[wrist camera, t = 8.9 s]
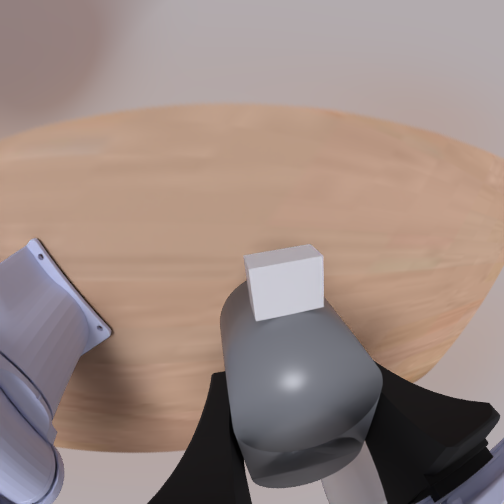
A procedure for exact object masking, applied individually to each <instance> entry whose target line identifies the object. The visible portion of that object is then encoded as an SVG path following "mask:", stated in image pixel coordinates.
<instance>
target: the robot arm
mask: <svg viewBox="0 0 504 504" xmlns="http://www.w3.org/2000/svg"><path fill="white" fill-rule="evenodd" d="M41 254H42V255H43V258H42V257H41ZM99 326H101V327H102V328H100V327H99ZM110 335H111V329H110V328H109V327H108V326H107V325H106V323H105V322H104V321H103V320H102V319H101V318H100V317H99V316H98V315H97V314H96V313H95V312H94V310H93V309H92V308H91V307H90V306H89V305H88V304H87V302H86V301H85V300H84V299H83V298H82V297H81V295H80V294H79V293H78V292H77V291H76V289H75V288H74V287H73V286H72V285H71V283H70V282H69V281H68V280H67V278H66V277H65V276H64V275H63V273H62V272H61V271H60V269H59V268H58V267H57V265H56V264H55V263H54V261H53V260H52V259H51V257H50V256H49V255H48V253H47V252H46V250H45V249H44V247H43V246H42V245H41V243H40V242H39V240H38V239H36V238H33V239H32V240H30V241H29V243H28V244H27V245H26V246H25V247H23V248H22V249H20V250H19V251H17V252H15V253H14V254H13V255H11V256H10V257H8V258H7V259H5V260H4V261H2V262H1V263H0V504H52V503H53V502H54V501H55V499H56V498H57V497H58V495H59V493H60V491H61V488H62V485H63V481H64V464H63V461H62V458H61V455H60V453H59V452H58V451H57V449H56V447H55V446H54V445H53V443H54V440H55V437H56V434H57V431H56V430H55V428H54V427H53V425H52V420H53V417H54V415H55V412H56V410H57V407H58V405H59V403H60V400H61V398H62V395H63V393H64V391H65V388H66V386H67V384H68V382H69V379H70V377H71V375H72V373H73V371H74V369H75V366H76V364H77V362H78V360H79V358H80V356H82V355H83V354H85V353H86V352H88V351H89V350H91V349H92V348H93V347H95V346H96V345H98V344H99V343H101V342H102V341H104V340H105V339H107V338H108V337H109V336H110ZM374 362H375V361H374ZM375 364H376V365H377V366H378V368H379V369H380V371H381V373H382V378H383V385H382V390H381V393H380V397H379V400H378V403H377V406H376V410H375V413H374V416H373V419H372V422H371V425H370V427H369V430H368V433H367V436H366V438H365V442H366V445H367V447H368V449H369V452H370V454H371V456H372V459H373V462H374V464H375V467H376V470H377V472H378V475H379V478H380V481H381V484H382V487H383V490H384V494H385V497H386V501H387V504H440V503H441V504H502V503H503V502H504V438H503V439H502V440H501V441H500V442H499V443H498V444H497V445H496V446H495V447H494V448H492V449H491V450H490V451H489V450H488V449H487V447H486V446H487V445H488V442H487V440H486V439H485V438H486V437H487V435H488V434H489V433H490V432H491V430H492V429H493V428H494V427H495V425H496V424H497V423H498V421H499V419H500V415H499V413H498V412H497V411H496V410H495V409H494V408H493V407H492V406H491V405H490V403H485V402H476V401H468V400H462V399H457V398H453V397H449V396H445V395H442V394H439V393H435V392H433V391H430V390H427V389H424V388H422V387H420V386H418V385H415V384H413V383H411V382H409V381H407V380H405V379H403V378H401V377H399V376H398V375H396V374H394V373H392V372H391V371H389V370H387V369H386V368H384V367H383V366H381V365H379V364H378V363H376V362H375ZM147 504H252V502H251V497H250V493H249V488H248V483H247V479H246V474H245V467H244V458H243V455H242V452H241V450H240V447H239V444H238V441H237V438H236V436H235V433H234V429H233V424H232V417H231V410H230V403H229V396H228V388H227V380H226V372H225V371H224V372H218V373H213V374H212V376H211V383H210V388H209V392H208V396H207V400H206V403H205V406H204V409H203V412H202V415H201V418H200V421H199V423H198V426H197V428H196V431H195V433H194V435H193V437H192V440H191V442H190V444H189V446H188V448H187V450H186V451H185V453H184V455H183V457H182V458H181V460H180V462H179V464H178V465H177V467H176V468H175V470H174V471H173V473H172V474H171V476H170V477H169V478H168V480H167V481H166V482H165V484H164V485H163V486H162V488H161V489H160V490H159V491H158V493H157V494H156V495H155V496H154V497H153V498H152V499H151V500H150V501H149V502H148V503H147Z"/></svg>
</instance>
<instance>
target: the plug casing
mask: <svg viewBox="0 0 504 504" xmlns="http://www.w3.org/2000/svg"><path fill="white" fill-rule="evenodd" d="M244 263H245V270H246V277H247V281H245V282H244V283H242V284H241V285H239V286H238V287H237V288H236V289H235V290H234V291H233V292H232V293H231V294H230V296H229V297H228V298H227V300H226V302H225V304H224V306H223V308H222V311H221V316H220V329H221V338H222V347H223V356H224V364H225V372H226V380H227V388H228V396H229V403H230V410H231V417H232V424H233V429H234V433H235V436H236V438H237V441H238V444H239V447H240V450H241V452H242V455H243V458H244V460H245V463H246V466H247V468H248V471H249V473H250V476H251V478H252V480H253V482H255V483H256V484H258V485H260V486H263V487H268V488H288V487H295V486H300V485H304V484H308V483H312V482H315V481H318V480H320V479H323V478H325V477H328V476H330V475H332V474H334V473H336V472H337V471H339V470H341V469H342V468H344V467H345V466H347V465H348V464H349V463H351V462H352V461H353V460H354V459H355V458H356V457H357V456H358V454H359V453H360V451H361V449H362V446H363V444H364V441H365V438H366V436H367V433H368V430H369V427H370V425H371V422H372V419H373V416H374V413H375V410H376V406H377V403H378V400H379V397H380V393H381V390H382V385H383V378H382V373H381V371H380V369H379V368H378V366H377V365H376V364H375V362H374V361H373V360H372V358H371V357H370V356H369V354H368V353H367V352H366V350H365V349H364V348H363V346H362V345H361V344H360V342H359V341H358V340H357V339H356V337H355V336H354V335H353V333H352V332H351V331H350V329H349V328H348V327H347V325H346V324H345V323H344V322H343V320H342V319H341V318H340V316H339V315H338V314H337V313H336V311H335V310H334V309H333V307H332V306H331V305H330V304H329V302H328V301H327V300H326V299H325V297H324V274H323V255H322V254H321V253H320V252H319V251H317V250H316V249H315V248H314V247H313V246H312V245H311V244H307V245H301V246H296V247H290V248H284V249H278V250H273V251H267V252H261V253H255V254H249V255H244Z"/></svg>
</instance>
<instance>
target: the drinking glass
mask: <svg viewBox="0 0 504 504" xmlns="http://www.w3.org/2000/svg"><path fill="white" fill-rule="evenodd" d="M321 482H322V485H323V488H324V491H325V494H326V496H327V499H328V501H329V504H387V501H386V497H385V494H384V490H383V487H382V484H381V481H380V478H379V475H378V472H377V470H376V467H375V464H374V462H373V459H372V456H371V454H370V452H369V449H368V447H367V445H366V442H365V441H364V444H363V446H362V449H361V451H360V453H359V454H358V456H357V457H356V458H355V459H354V460H353V461H352V462H351V463H349V464H348V465H347V466H345V467H344V468H342V469H341V470H339V471H337V472H336V473H334V474H332V475H330V476H328V477H325V478H323V479H321Z"/></svg>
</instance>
